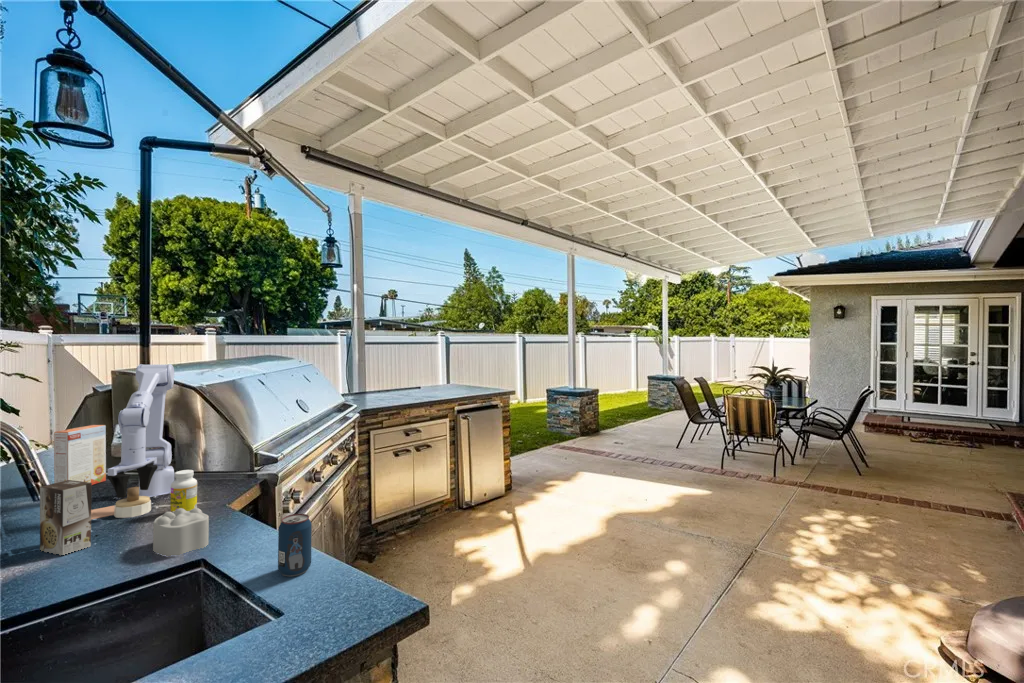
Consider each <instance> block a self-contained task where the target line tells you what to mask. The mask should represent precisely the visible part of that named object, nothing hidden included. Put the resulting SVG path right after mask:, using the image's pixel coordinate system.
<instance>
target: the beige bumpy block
mask: <svg viewBox="0 0 1024 683" xmlns="http://www.w3.org/2000/svg"><path fill="white" fill-rule="evenodd" d="M209 518H210V517H209V515H208V514H206V513H204V512H203V510H201V509H200V508H199V507H197V508H194V509H192V510H190V511H186V510H185V509H183V508H180V509H177V510H175V511H173V512H170V511H166V512H164V513H163V514H162V515H159V516H158V517H156V518H155V519H154V520H153V523H152V524H153V525H152V526H153V528H152V530H153V533H152V535H153V537H152V552H153V551H154V552H156V553H159V554H162V555H166V556H171V555H180V554H183V553H186V552H189V551H192V550H196V549H199V550H201V549H200V548H202V549H205V548H207V547H208V546H209V543H210V542H209V533H210V531H209V529H210V527H209V526H210V523H209V522H210V519H209ZM207 545H208V546H207ZM206 546H207V547H206ZM204 547H205V548H204ZM196 551H197V550H196ZM154 552H153V553H154ZM192 552H193V551H192ZM156 553H155V554H156Z"/></svg>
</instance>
